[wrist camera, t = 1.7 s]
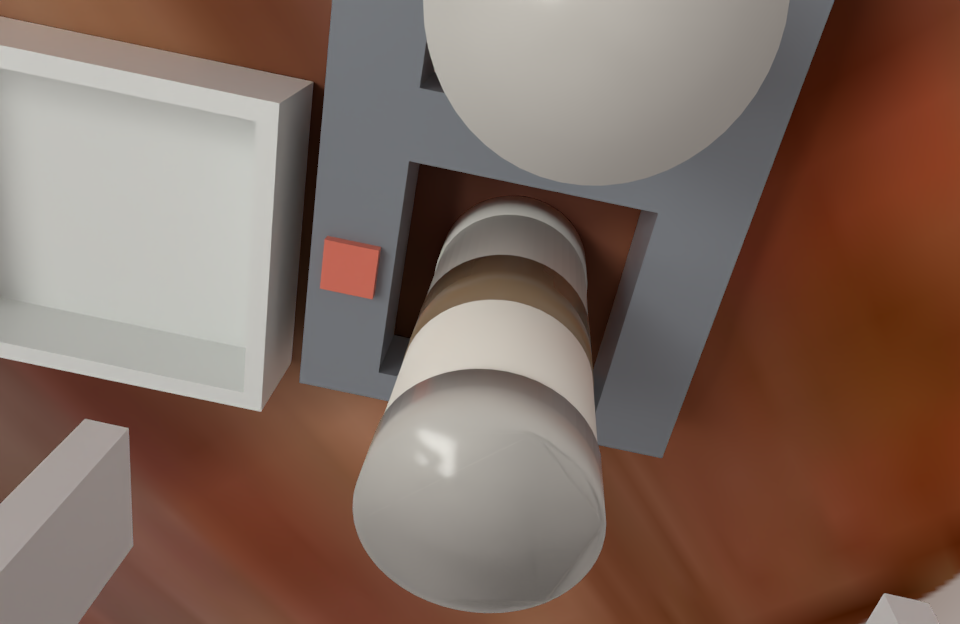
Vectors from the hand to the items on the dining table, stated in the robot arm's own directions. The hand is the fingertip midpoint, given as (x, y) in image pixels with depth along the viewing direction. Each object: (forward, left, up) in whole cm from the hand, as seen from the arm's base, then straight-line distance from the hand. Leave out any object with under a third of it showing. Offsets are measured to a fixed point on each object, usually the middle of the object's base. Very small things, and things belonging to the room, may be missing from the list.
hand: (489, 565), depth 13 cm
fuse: (0, +9, -13) cm, 16 cm away
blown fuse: (0, 0, -13) cm, 13 cm away
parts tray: (-13, 0, -13) cm, 19 cm away
